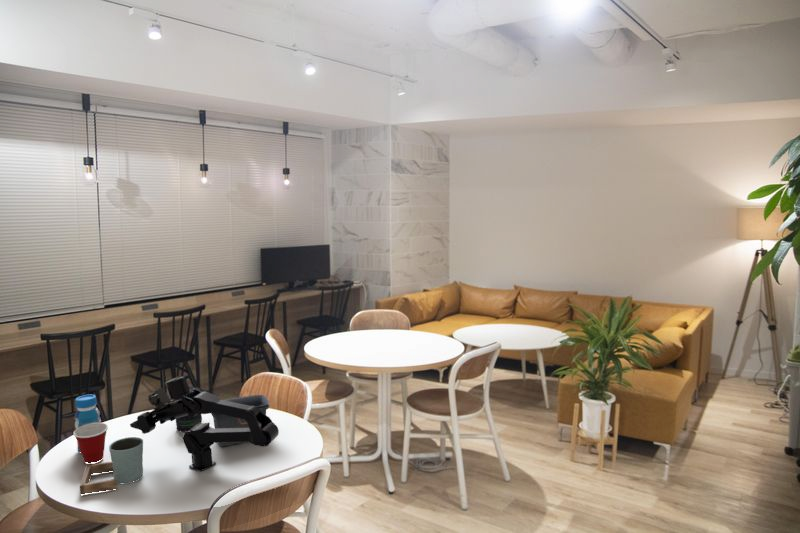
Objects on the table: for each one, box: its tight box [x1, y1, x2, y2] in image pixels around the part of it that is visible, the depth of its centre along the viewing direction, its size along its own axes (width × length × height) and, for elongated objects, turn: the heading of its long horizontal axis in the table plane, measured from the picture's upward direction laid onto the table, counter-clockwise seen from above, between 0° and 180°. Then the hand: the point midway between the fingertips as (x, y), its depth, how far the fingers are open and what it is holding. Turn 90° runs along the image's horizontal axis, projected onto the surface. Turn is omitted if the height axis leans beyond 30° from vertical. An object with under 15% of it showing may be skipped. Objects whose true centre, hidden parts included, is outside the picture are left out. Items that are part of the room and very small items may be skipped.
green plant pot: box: [108, 436, 144, 484], centre depth 194 cm, size 10×10×12 cm
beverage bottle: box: [74, 394, 102, 453], centre depth 216 cm, size 8×8×20 cm
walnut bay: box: [79, 461, 118, 494], centre depth 192 cm, size 10×15×4 cm
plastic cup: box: [72, 422, 109, 463], centre depth 208 cm, size 11×11×12 cm
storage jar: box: [175, 386, 203, 433], centre depth 236 cm, size 10×10×15 cm
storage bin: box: [210, 394, 271, 447], centre depth 223 cm, size 21×16×14 cm
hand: (139, 420), depth 206 cm, fingers open, 9 cm apart
